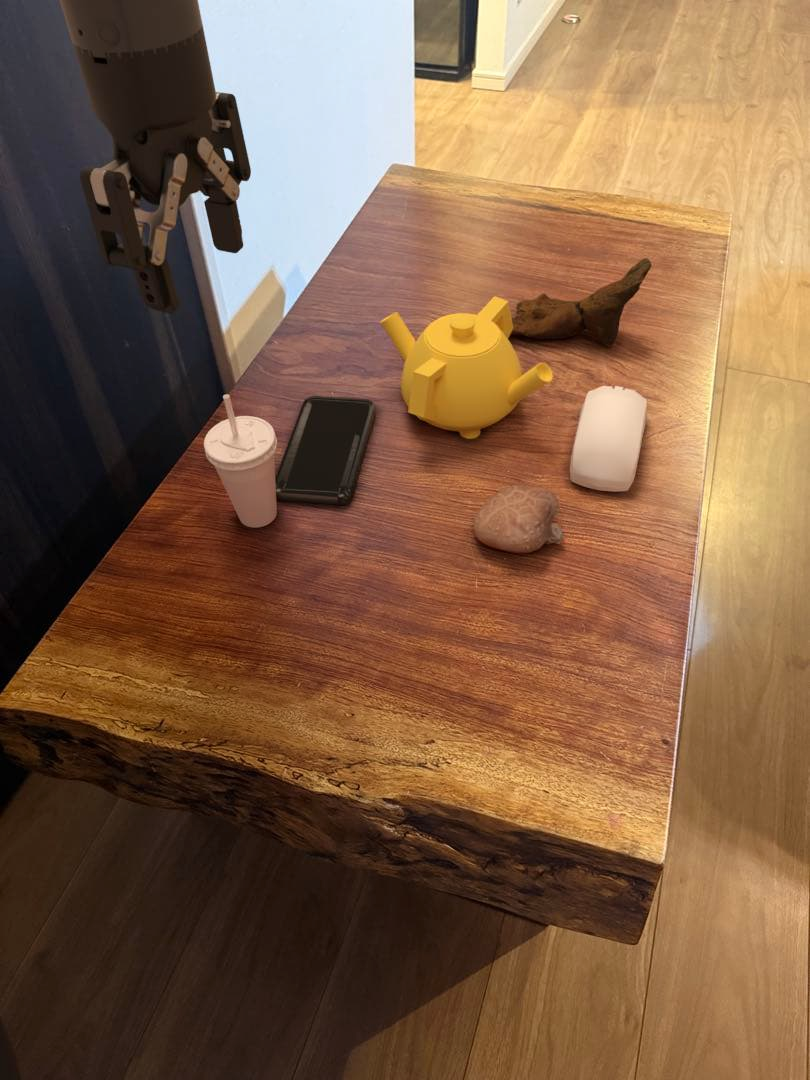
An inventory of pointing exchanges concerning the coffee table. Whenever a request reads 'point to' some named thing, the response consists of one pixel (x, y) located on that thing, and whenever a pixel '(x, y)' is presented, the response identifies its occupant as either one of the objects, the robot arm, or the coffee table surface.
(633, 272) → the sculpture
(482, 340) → the teapot
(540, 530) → the mushroom
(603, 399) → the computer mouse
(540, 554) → the coffee table surface
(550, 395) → the coffee table surface
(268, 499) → the smoothie
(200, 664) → the coffee table surface
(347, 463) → the phone
